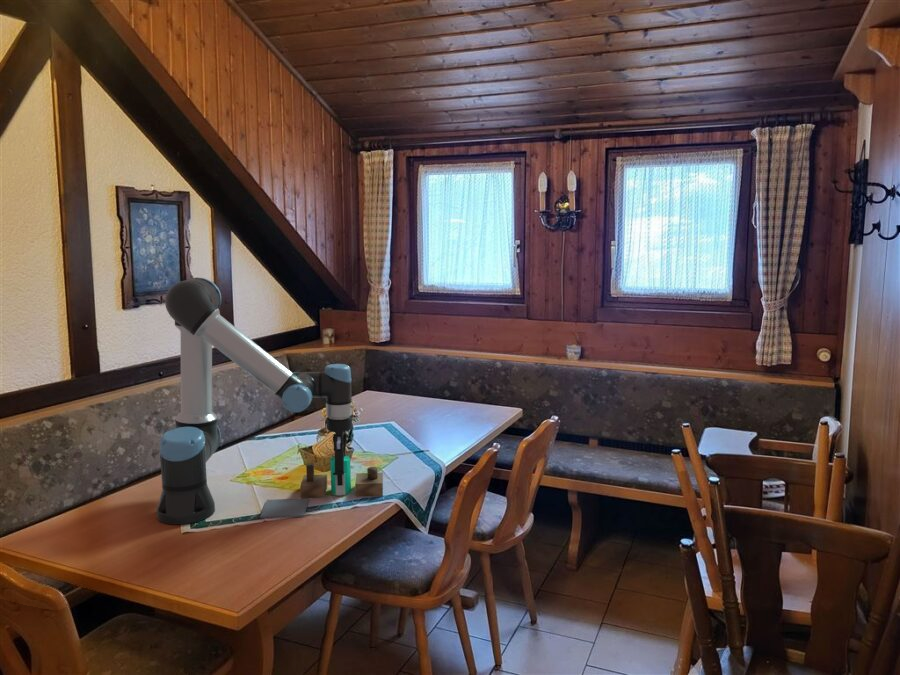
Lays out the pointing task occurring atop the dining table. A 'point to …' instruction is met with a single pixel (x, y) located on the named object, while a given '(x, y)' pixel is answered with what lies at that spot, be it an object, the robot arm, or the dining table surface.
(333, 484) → the candle
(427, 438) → the dining table surface
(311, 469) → the wooden peg blocks
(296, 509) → the coaster
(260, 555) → the dining table surface
